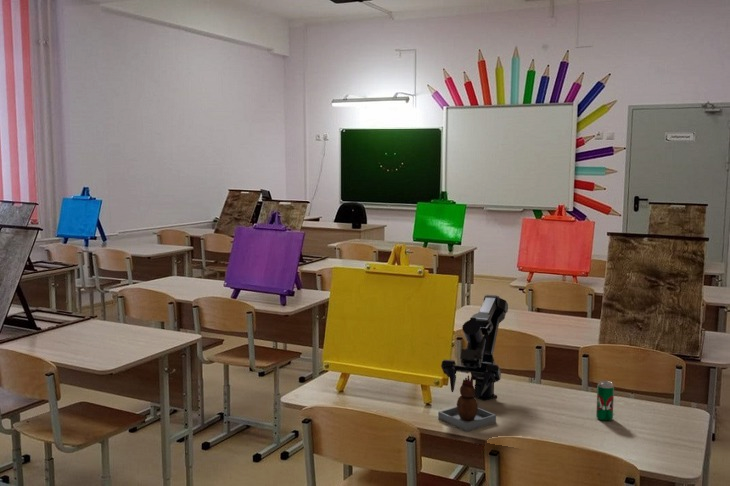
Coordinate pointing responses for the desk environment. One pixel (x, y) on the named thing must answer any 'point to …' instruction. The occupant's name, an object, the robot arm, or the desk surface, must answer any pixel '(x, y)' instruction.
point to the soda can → (605, 400)
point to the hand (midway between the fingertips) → (466, 393)
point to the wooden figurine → (467, 400)
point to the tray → (455, 420)
